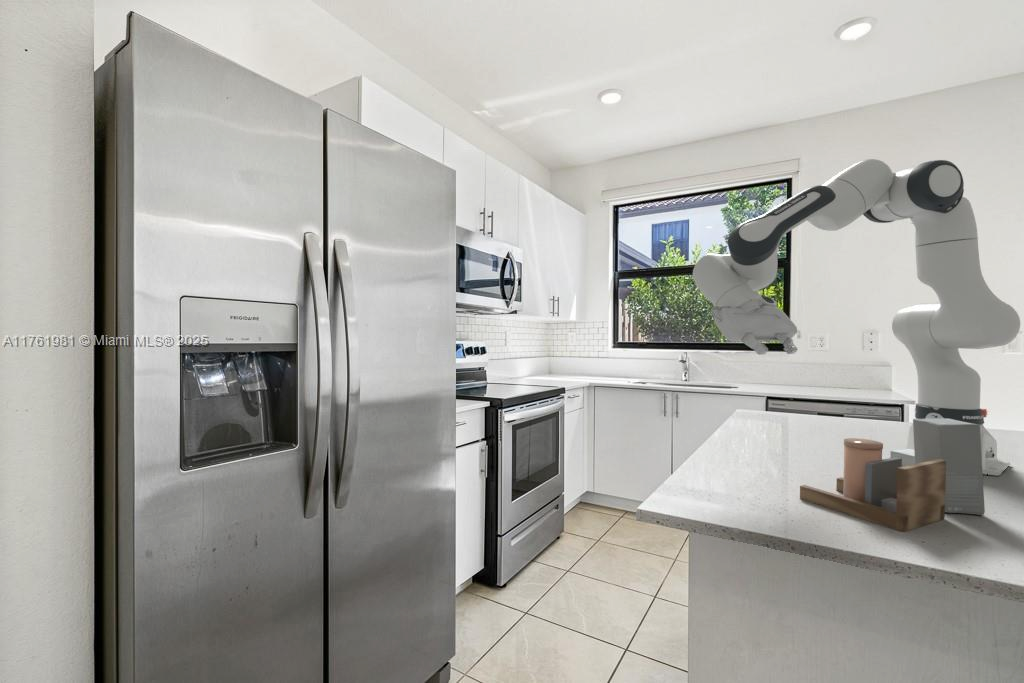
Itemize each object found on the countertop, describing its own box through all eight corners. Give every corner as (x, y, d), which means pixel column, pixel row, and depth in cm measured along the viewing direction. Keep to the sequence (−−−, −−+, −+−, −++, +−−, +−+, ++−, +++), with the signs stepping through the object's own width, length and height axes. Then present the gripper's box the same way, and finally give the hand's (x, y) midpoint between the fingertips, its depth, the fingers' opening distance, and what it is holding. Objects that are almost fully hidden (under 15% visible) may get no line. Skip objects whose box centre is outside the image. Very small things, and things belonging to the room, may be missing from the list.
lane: (840, 489, 99) (841, 439, 98) (944, 518, 83) (946, 460, 83) (799, 498, 93) (800, 446, 93) (903, 531, 78) (904, 469, 77)
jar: (853, 498, 93) (855, 437, 93) (888, 508, 88) (890, 443, 88) (835, 503, 90) (836, 440, 90) (869, 514, 85) (871, 446, 85)
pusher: (894, 506, 88) (895, 457, 88) (916, 512, 85) (917, 461, 85) (864, 514, 84) (865, 462, 84) (886, 521, 81) (887, 467, 81)
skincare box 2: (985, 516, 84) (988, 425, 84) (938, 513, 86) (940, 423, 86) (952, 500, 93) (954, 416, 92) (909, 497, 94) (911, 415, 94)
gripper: (715, 296, 106) (755, 342, 97) (778, 299, 114) (819, 341, 106) (699, 317, 110) (735, 363, 101) (761, 318, 119) (799, 361, 110)
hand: (779, 352), depth 104 cm, fingers open, 8 cm apart
